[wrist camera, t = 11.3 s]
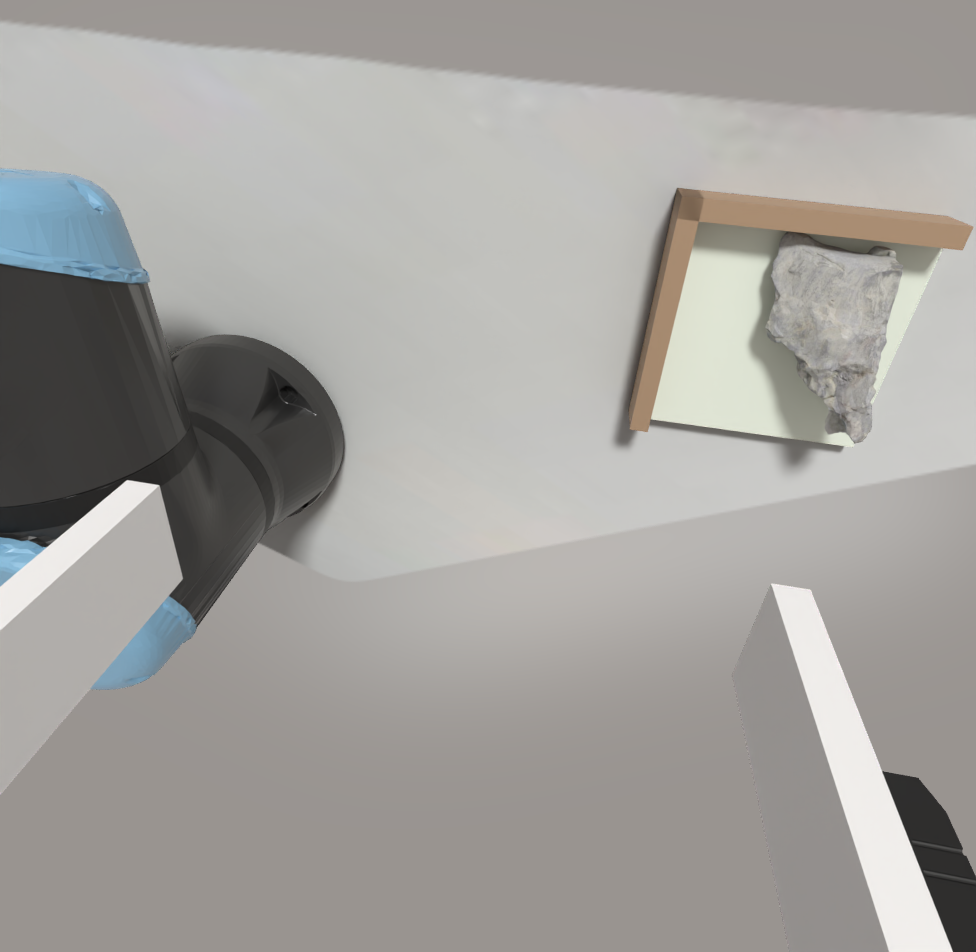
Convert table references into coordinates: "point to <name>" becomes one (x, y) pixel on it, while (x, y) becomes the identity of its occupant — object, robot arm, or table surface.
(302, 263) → the table surface
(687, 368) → the corner
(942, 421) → the table surface
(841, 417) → the stone
